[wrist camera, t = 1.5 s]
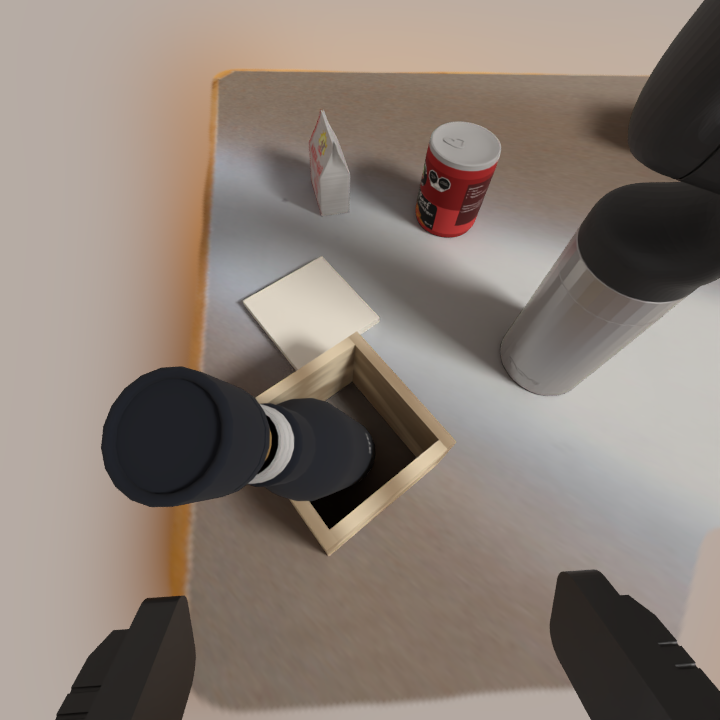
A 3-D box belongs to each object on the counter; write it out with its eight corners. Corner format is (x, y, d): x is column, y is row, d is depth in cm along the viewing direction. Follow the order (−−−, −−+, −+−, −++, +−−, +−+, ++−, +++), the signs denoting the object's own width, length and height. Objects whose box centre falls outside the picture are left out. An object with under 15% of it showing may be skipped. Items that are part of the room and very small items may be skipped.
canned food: (414, 194, 58) (430, 117, 49) (472, 200, 58) (499, 124, 49) (413, 236, 55) (429, 162, 45) (475, 242, 55) (504, 169, 45)
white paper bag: (337, 177, 59) (337, 107, 50) (349, 212, 56) (351, 143, 47) (311, 181, 59) (306, 110, 50) (321, 216, 56) (318, 147, 47)
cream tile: (322, 261, 52) (321, 256, 51) (378, 322, 49) (379, 317, 48) (244, 305, 49) (242, 300, 48) (299, 374, 45) (298, 370, 44)
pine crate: (353, 369, 46) (356, 331, 39) (436, 465, 41) (456, 441, 34) (249, 441, 42) (231, 413, 34) (328, 556, 37) (326, 551, 30)
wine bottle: (295, 453, 41) (14, 440, 12) (341, 404, 42) (175, 279, 13) (343, 501, 40) (149, 619, 11) (389, 450, 40) (327, 427, 11)
